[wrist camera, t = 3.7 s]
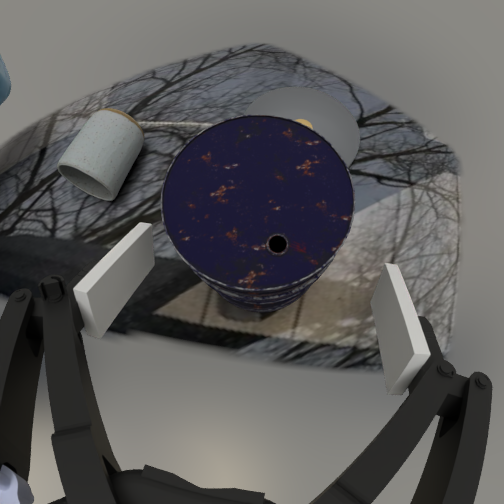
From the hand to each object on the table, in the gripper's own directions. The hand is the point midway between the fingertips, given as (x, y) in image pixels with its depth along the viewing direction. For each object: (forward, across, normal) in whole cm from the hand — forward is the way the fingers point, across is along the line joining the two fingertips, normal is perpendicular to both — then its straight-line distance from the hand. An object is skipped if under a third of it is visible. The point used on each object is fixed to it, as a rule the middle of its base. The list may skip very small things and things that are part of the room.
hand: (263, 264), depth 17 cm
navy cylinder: (+11, -1, -7) cm, 13 cm away
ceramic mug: (+16, -21, -1) cm, 26 cm away
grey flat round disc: (+21, +1, +4) cm, 21 cm away
